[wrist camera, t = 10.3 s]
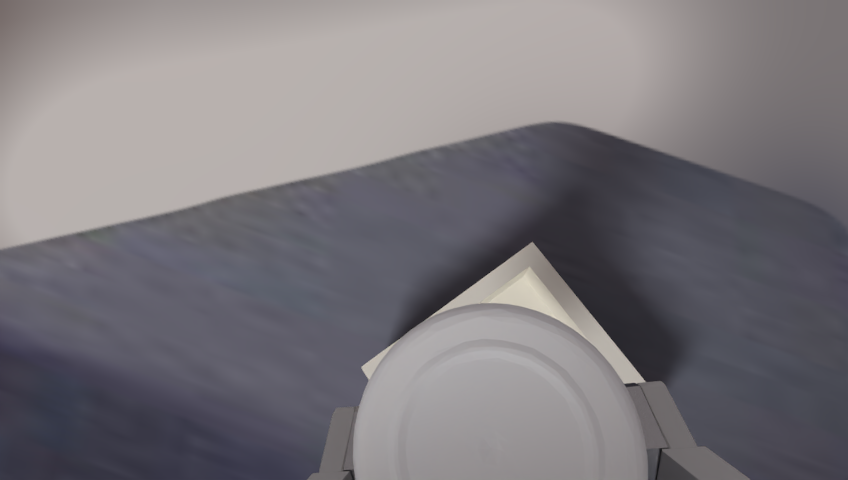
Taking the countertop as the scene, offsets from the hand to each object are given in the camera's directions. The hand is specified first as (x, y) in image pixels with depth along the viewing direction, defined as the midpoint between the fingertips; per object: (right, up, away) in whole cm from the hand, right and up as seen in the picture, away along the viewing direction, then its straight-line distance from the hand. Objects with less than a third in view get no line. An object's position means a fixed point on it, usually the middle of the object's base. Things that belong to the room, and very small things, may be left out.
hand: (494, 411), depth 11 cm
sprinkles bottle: (+1, -3, +9) cm, 10 cm away
